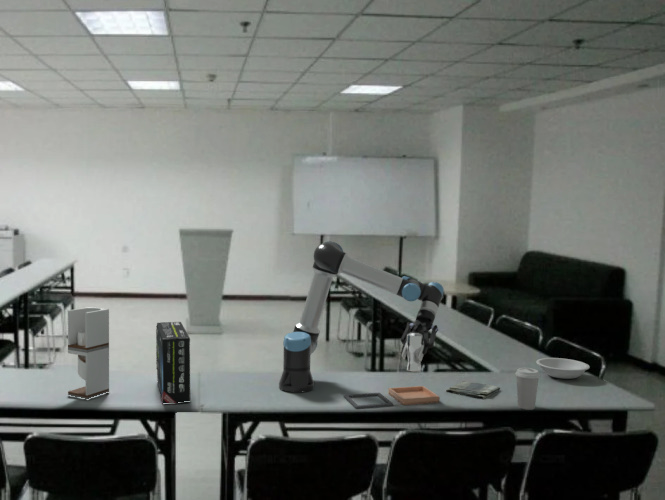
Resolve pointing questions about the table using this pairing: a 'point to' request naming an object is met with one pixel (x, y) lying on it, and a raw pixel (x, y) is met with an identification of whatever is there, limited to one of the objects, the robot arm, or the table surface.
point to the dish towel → (474, 389)
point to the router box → (173, 362)
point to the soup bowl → (562, 367)
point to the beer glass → (414, 351)
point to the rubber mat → (388, 403)
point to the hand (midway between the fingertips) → (411, 358)
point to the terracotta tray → (413, 395)
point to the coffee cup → (527, 387)
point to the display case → (90, 349)
